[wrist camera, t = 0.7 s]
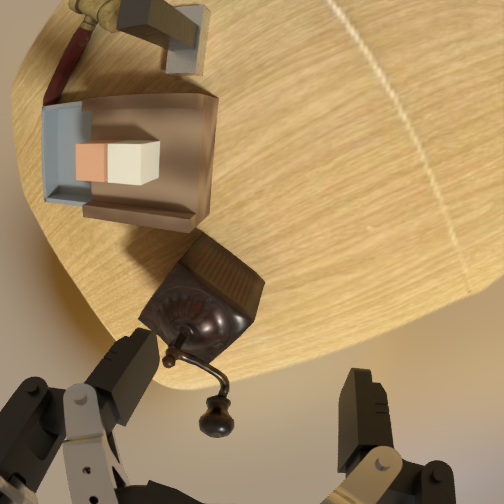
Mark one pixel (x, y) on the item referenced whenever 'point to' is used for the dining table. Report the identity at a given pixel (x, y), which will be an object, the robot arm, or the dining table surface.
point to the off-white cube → (133, 161)
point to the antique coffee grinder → (205, 316)
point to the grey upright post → (169, 31)
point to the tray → (64, 153)
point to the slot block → (170, 159)
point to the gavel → (81, 40)
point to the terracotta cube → (92, 160)
